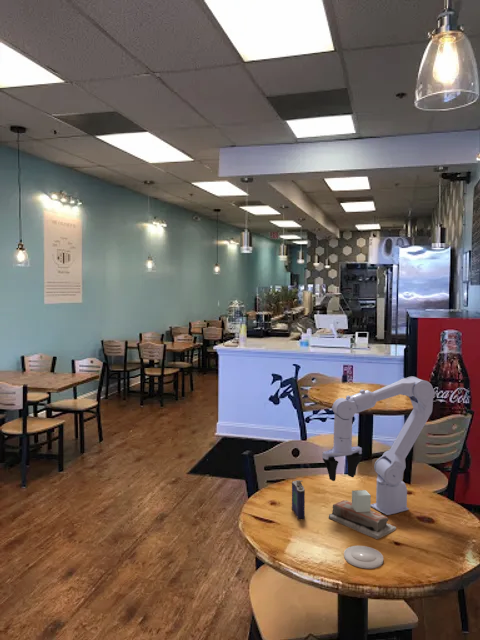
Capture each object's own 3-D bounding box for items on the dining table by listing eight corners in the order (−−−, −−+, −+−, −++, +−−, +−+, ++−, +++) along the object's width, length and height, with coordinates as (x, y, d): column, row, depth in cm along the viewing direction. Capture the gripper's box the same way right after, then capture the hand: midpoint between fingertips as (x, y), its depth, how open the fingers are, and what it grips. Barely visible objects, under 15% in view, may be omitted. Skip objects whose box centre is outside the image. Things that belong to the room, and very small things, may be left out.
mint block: (365, 506, 151) (365, 490, 150) (370, 511, 147) (370, 495, 146) (351, 506, 150) (351, 490, 150) (356, 512, 146) (356, 495, 146)
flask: (290, 507, 159) (291, 475, 159) (299, 507, 160) (299, 474, 159) (297, 520, 150) (298, 486, 150) (307, 519, 150) (307, 485, 150)
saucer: (364, 545, 135) (365, 541, 135) (391, 562, 126) (391, 558, 126) (336, 553, 130) (336, 549, 130) (361, 572, 121) (361, 567, 121)
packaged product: (327, 504, 152) (347, 496, 158) (327, 519, 152) (346, 511, 158) (377, 524, 138) (397, 515, 145) (377, 541, 138) (396, 531, 145)
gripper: (352, 430, 164) (351, 470, 164) (316, 435, 157) (315, 477, 157) (366, 436, 157) (365, 477, 158) (330, 441, 151) (329, 484, 151)
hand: (341, 478), depth 157 cm, fingers open, 7 cm apart
